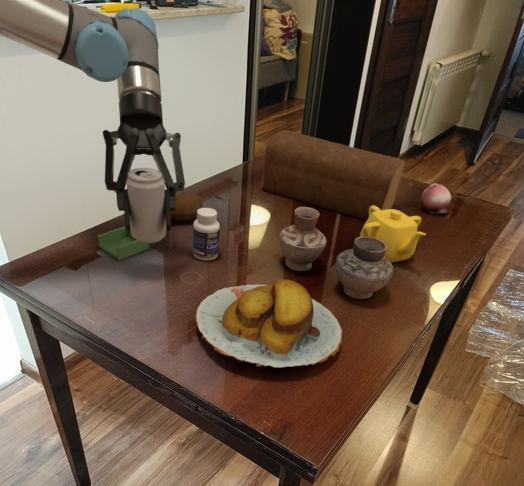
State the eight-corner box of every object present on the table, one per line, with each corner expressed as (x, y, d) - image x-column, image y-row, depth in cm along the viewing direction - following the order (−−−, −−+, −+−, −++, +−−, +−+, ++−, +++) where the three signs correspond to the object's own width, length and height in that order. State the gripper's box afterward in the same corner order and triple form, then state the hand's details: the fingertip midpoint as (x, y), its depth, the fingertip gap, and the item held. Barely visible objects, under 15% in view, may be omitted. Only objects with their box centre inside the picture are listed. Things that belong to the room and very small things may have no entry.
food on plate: (171, 311, 87) (170, 279, 82) (283, 279, 98) (287, 251, 94) (247, 402, 71) (250, 370, 67) (368, 352, 83) (378, 322, 79)
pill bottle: (208, 264, 100) (210, 220, 94) (187, 255, 102) (187, 212, 95) (223, 254, 104) (225, 211, 97) (202, 246, 105) (203, 203, 99)
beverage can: (147, 225, 94) (143, 163, 86) (173, 236, 92) (171, 173, 84) (123, 237, 89) (117, 173, 82) (150, 248, 87) (146, 183, 79)
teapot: (419, 250, 114) (433, 208, 108) (412, 275, 105) (427, 231, 98) (362, 235, 117) (373, 194, 111) (351, 258, 108) (361, 215, 101)
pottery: (292, 247, 109) (300, 196, 101) (394, 291, 99) (411, 238, 92) (263, 266, 102) (270, 212, 94) (370, 315, 92) (387, 260, 84)
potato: (209, 217, 116) (210, 192, 112) (182, 230, 110) (182, 204, 106) (188, 208, 119) (188, 183, 115) (161, 221, 112) (160, 195, 108)
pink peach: (427, 202, 137) (435, 177, 133) (451, 212, 133) (461, 186, 129) (412, 208, 132) (421, 183, 128) (437, 219, 129) (447, 193, 124)
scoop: (119, 260, 98) (118, 248, 96) (98, 246, 101) (97, 235, 99) (178, 236, 108) (178, 226, 106) (157, 225, 111) (157, 214, 109)
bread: (280, 175, 141) (287, 123, 132) (393, 207, 132) (408, 154, 123) (259, 190, 132) (264, 136, 122) (379, 226, 122) (394, 169, 113)
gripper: (192, 115, 93) (201, 234, 91) (86, 111, 88) (93, 235, 87) (196, 92, 85) (205, 220, 84) (80, 86, 81) (88, 221, 80)
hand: (148, 227), depth 86 cm, fingers closed on beverage can, 6 cm apart
